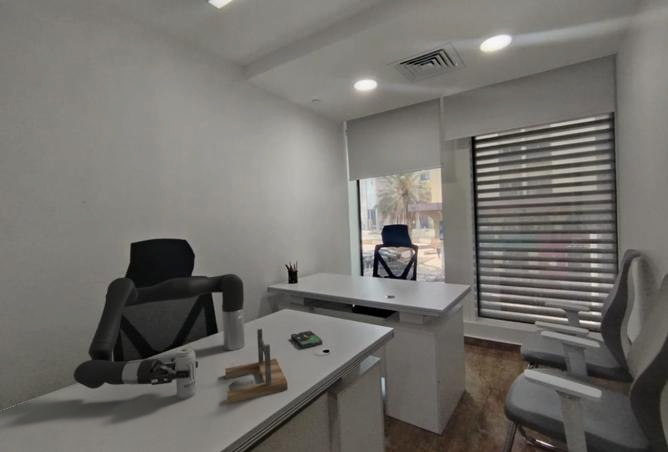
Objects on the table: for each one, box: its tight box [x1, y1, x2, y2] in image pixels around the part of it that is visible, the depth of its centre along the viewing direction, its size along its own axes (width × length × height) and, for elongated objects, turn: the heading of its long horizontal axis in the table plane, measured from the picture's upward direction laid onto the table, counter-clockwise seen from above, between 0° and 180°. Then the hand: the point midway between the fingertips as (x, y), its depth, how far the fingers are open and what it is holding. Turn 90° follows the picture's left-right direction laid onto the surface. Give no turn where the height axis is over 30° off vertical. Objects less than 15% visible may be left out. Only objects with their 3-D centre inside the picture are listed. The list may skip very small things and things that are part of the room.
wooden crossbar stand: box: [224, 328, 288, 404], centre depth 110 cm, size 20×19×16 cm
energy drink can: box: [174, 346, 198, 400], centre depth 103 cm, size 6×6×15 cm
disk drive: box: [290, 330, 323, 350], centre depth 145 cm, size 10×3×15 cm
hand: (193, 369), depth 103 cm, fingers closed on energy drink can, 6 cm apart
